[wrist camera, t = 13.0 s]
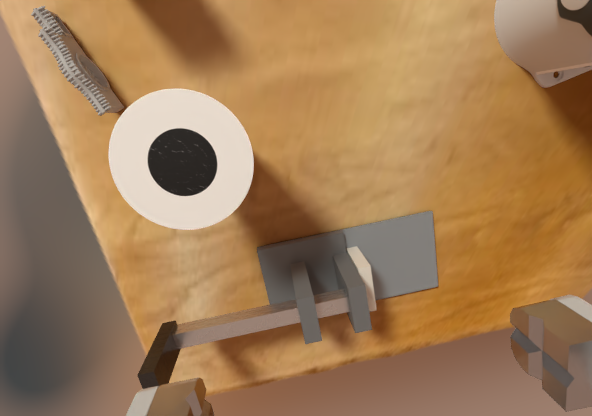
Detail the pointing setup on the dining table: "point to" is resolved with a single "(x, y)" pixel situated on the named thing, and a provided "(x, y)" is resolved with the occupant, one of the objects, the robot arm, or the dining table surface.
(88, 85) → the grey toothed piece
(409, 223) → the mat
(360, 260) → the block
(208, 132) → the cup
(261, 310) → the shaft
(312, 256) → the bearing stand
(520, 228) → the dining table surface
